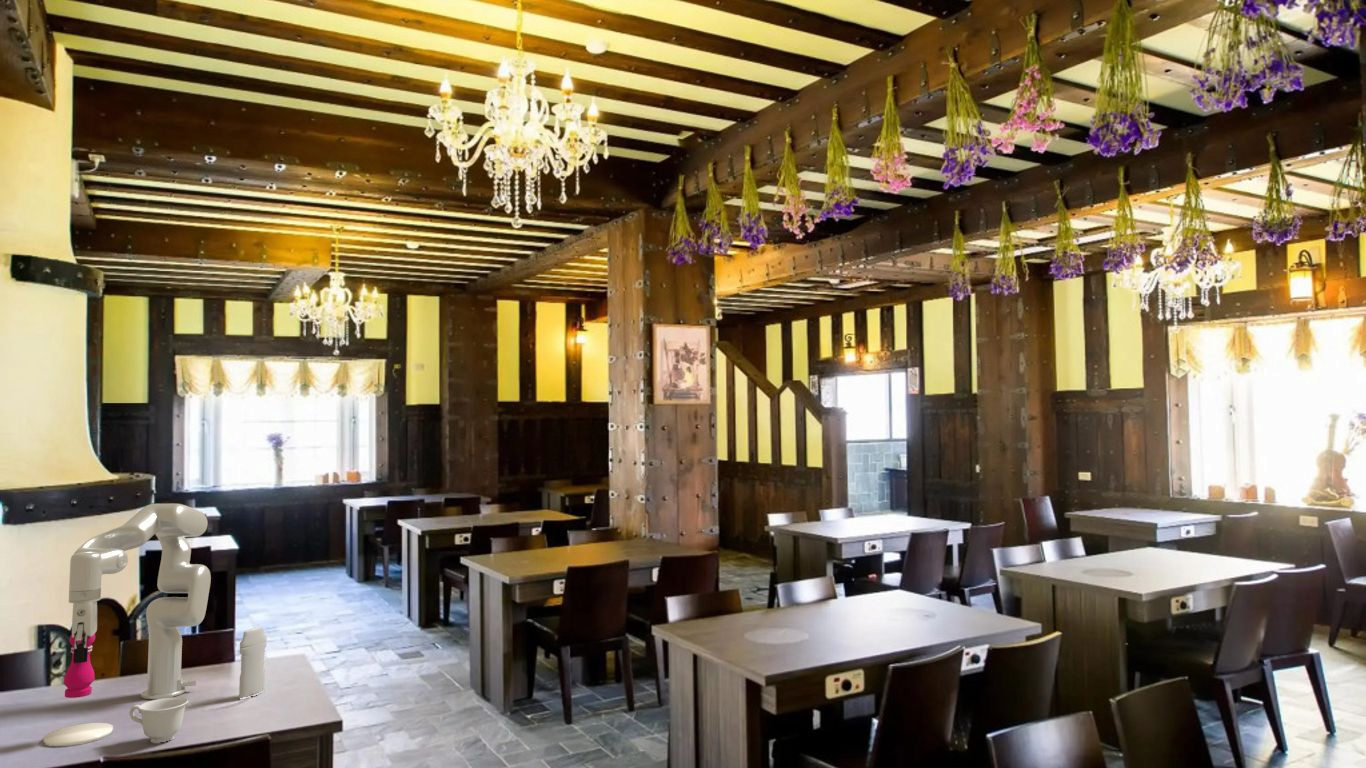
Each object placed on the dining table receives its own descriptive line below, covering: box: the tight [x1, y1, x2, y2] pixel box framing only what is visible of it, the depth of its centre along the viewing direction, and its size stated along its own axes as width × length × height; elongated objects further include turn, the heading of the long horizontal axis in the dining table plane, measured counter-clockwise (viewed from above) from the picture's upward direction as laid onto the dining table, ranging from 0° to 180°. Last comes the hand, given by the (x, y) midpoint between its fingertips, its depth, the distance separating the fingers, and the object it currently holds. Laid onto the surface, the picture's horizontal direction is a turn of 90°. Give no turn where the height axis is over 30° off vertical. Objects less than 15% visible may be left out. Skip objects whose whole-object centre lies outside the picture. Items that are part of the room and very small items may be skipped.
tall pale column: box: [238, 626, 267, 699], centre depth 278 cm, size 11×4×22 cm, turn 161°
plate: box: [43, 722, 114, 747], centre depth 240 cm, size 16×16×1 cm
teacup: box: [128, 696, 189, 744], centre depth 237 cm, size 12×15×10 cm
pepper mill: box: [63, 633, 96, 699], centre depth 241 cm, size 7×7×20 cm
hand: (82, 659), depth 241 cm, fingers closed on pepper mill, 5 cm apart
